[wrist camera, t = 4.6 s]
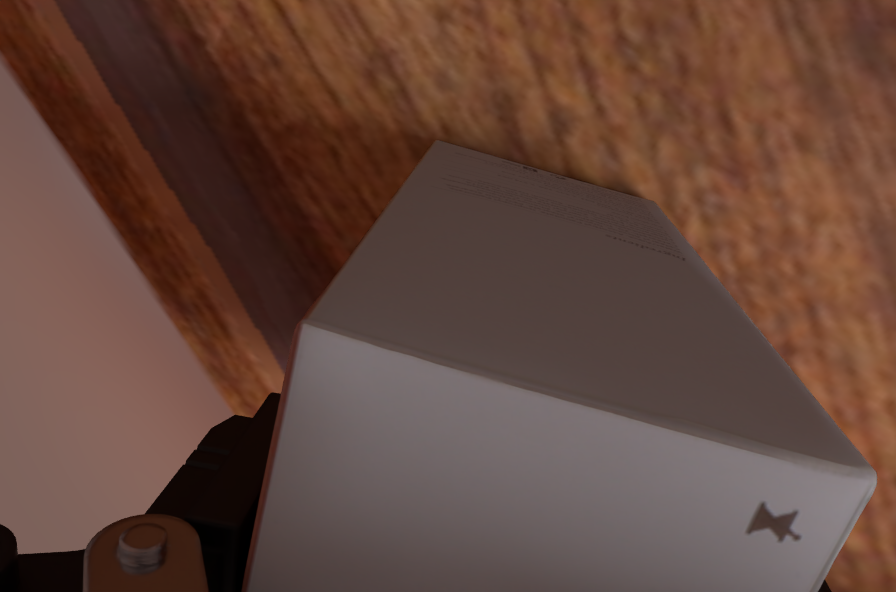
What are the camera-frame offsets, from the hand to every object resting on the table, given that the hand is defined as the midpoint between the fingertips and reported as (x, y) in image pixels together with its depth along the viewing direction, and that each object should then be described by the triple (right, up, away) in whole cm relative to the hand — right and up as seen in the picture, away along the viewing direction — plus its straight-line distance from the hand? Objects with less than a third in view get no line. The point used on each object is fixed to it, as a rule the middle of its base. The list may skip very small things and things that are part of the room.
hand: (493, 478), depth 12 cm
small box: (+1, +3, +8) cm, 9 cm away
